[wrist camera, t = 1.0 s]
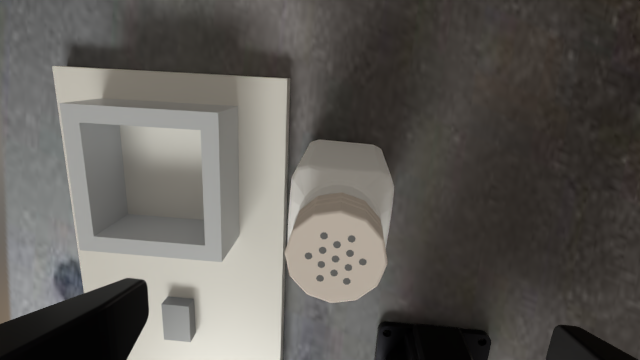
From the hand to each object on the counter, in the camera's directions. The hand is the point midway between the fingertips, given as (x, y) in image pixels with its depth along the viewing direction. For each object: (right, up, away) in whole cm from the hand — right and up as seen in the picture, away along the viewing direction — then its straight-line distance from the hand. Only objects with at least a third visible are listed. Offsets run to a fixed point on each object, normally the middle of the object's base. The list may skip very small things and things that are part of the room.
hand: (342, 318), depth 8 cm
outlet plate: (-8, 0, +14) cm, 17 cm away
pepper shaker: (+1, +3, +13) cm, 13 cm away
